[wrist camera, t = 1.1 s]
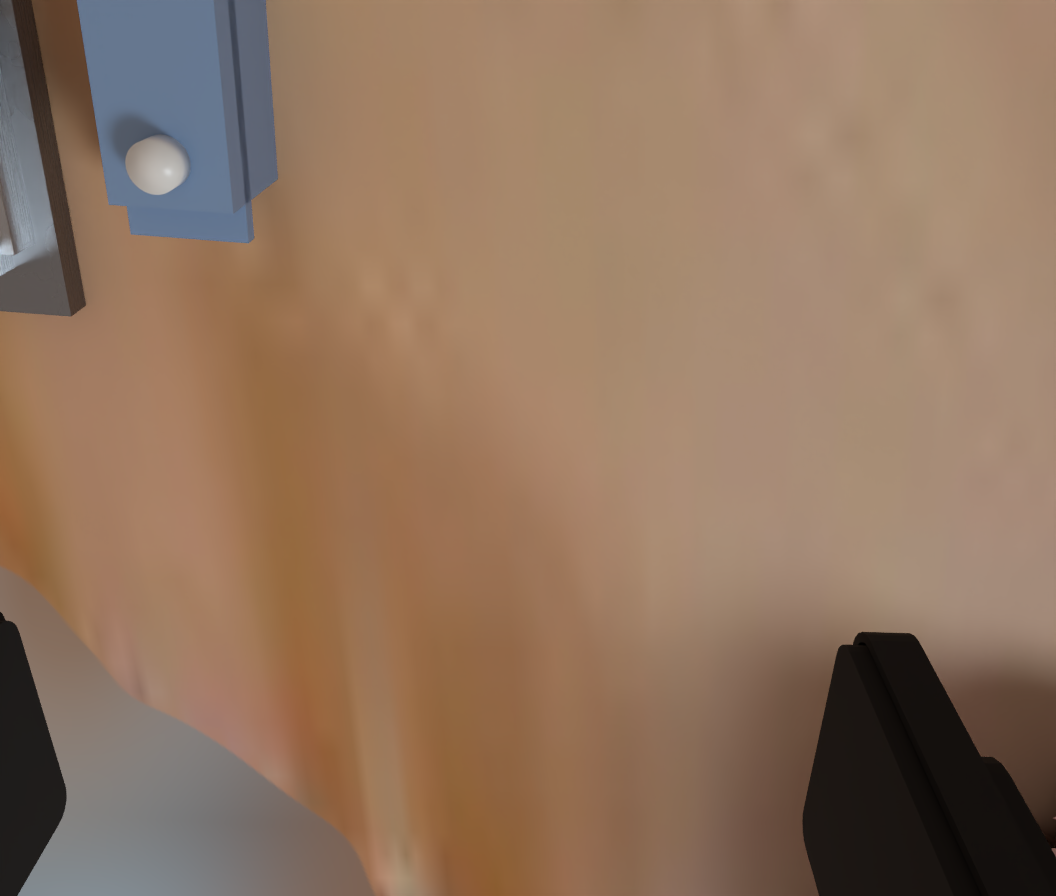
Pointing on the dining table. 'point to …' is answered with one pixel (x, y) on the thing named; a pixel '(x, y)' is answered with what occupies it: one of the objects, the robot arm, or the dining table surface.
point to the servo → (182, 112)
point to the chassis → (31, 181)
